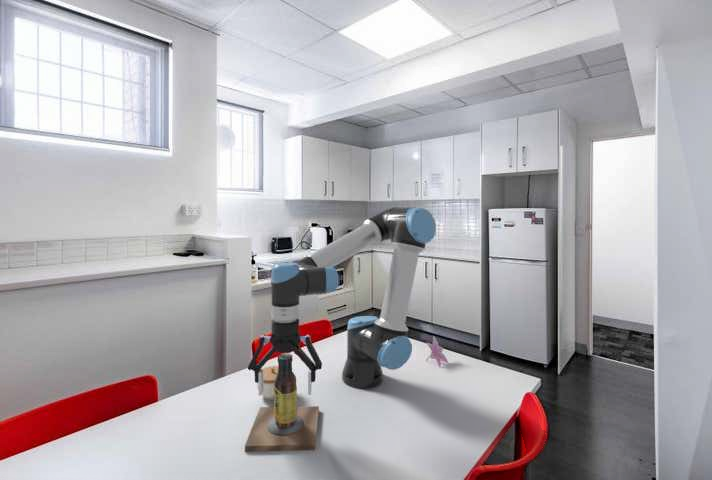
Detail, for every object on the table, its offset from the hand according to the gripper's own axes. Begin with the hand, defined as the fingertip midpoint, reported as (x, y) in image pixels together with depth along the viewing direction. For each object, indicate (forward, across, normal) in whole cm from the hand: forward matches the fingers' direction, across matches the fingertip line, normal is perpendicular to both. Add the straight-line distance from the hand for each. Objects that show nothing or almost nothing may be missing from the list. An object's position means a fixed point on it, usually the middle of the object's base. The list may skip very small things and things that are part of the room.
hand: (285, 392), depth 99 cm
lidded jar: (+11, -7, +19) cm, 23 cm away
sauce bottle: (+9, 0, 0) cm, 9 cm away
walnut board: (+11, 0, 0) cm, 11 cm away
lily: (+11, +55, +43) cm, 71 cm away
